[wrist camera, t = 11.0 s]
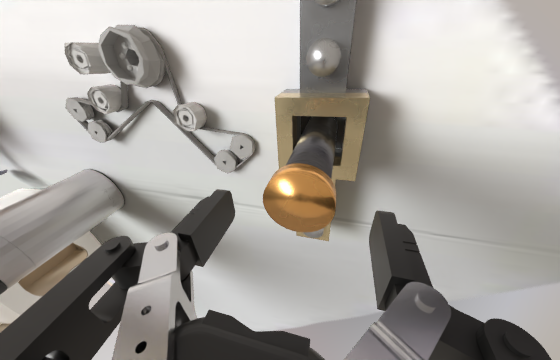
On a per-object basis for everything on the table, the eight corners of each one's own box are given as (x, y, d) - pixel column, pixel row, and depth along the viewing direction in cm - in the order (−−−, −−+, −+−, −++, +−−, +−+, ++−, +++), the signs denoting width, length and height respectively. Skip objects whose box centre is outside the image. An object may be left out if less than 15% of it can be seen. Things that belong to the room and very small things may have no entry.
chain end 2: (289, 212, 30) (282, 235, 26) (286, 89, 21) (273, 98, 17) (344, 220, 28) (343, 246, 24) (366, 88, 19) (370, 98, 15)
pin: (303, 143, 23) (266, 226, 13) (303, 107, 21) (259, 170, 11) (339, 146, 22) (331, 237, 12) (344, 108, 20) (339, 178, 10)
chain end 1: (288, 156, 25) (281, 168, 22) (282, -37, 16) (270, -52, 13) (354, 162, 23) (354, 175, 20) (390, -55, 14) (398, -76, 11)
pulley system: (46, 12, 24) (92, 133, 32) (-10, 2, 20) (58, 143, 28) (267, 45, 21) (256, 172, 29) (251, 42, 17) (244, 189, 25)
